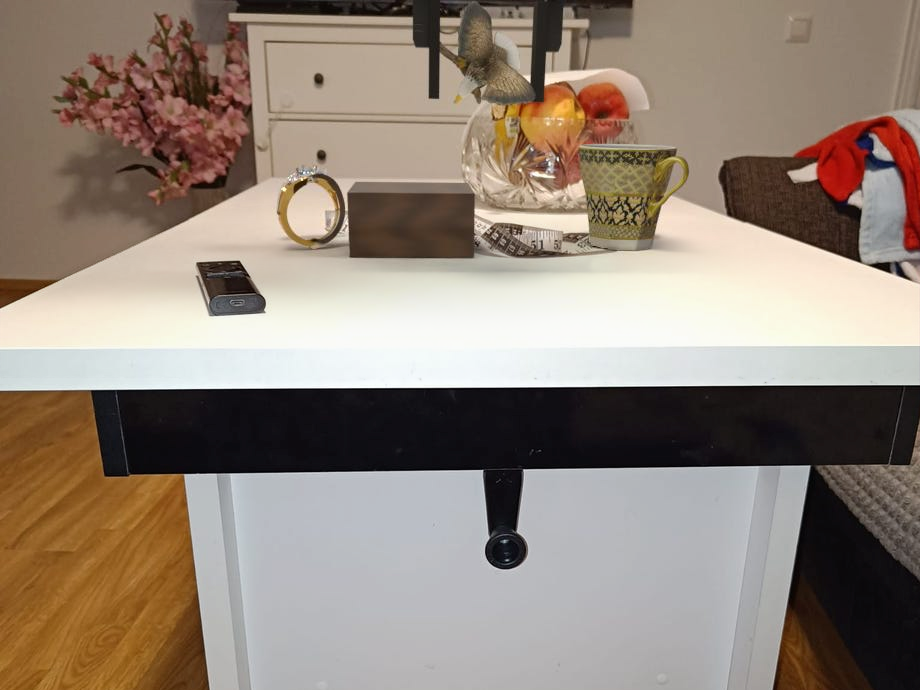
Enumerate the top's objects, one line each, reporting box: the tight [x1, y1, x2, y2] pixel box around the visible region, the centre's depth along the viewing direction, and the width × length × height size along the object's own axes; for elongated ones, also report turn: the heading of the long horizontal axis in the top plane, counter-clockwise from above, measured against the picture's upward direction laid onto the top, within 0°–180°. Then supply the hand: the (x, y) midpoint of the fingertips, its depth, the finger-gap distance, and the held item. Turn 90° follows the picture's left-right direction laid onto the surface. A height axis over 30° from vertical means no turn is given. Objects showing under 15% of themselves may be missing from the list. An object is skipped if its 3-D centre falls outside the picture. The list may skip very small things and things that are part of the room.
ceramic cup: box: [578, 143, 690, 251], centre depth 96 cm, size 13×10×10 cm
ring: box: [276, 164, 346, 250], centre depth 93 cm, size 7×3×8 cm, turn 119°
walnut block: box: [346, 181, 476, 259], centre depth 94 cm, size 12×12×6 cm
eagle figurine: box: [440, 0, 535, 106], centre depth 67 cm, size 8×7×9 cm
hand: (485, 99), depth 68 cm, fingers closed on eagle figurine, 7 cm apart
